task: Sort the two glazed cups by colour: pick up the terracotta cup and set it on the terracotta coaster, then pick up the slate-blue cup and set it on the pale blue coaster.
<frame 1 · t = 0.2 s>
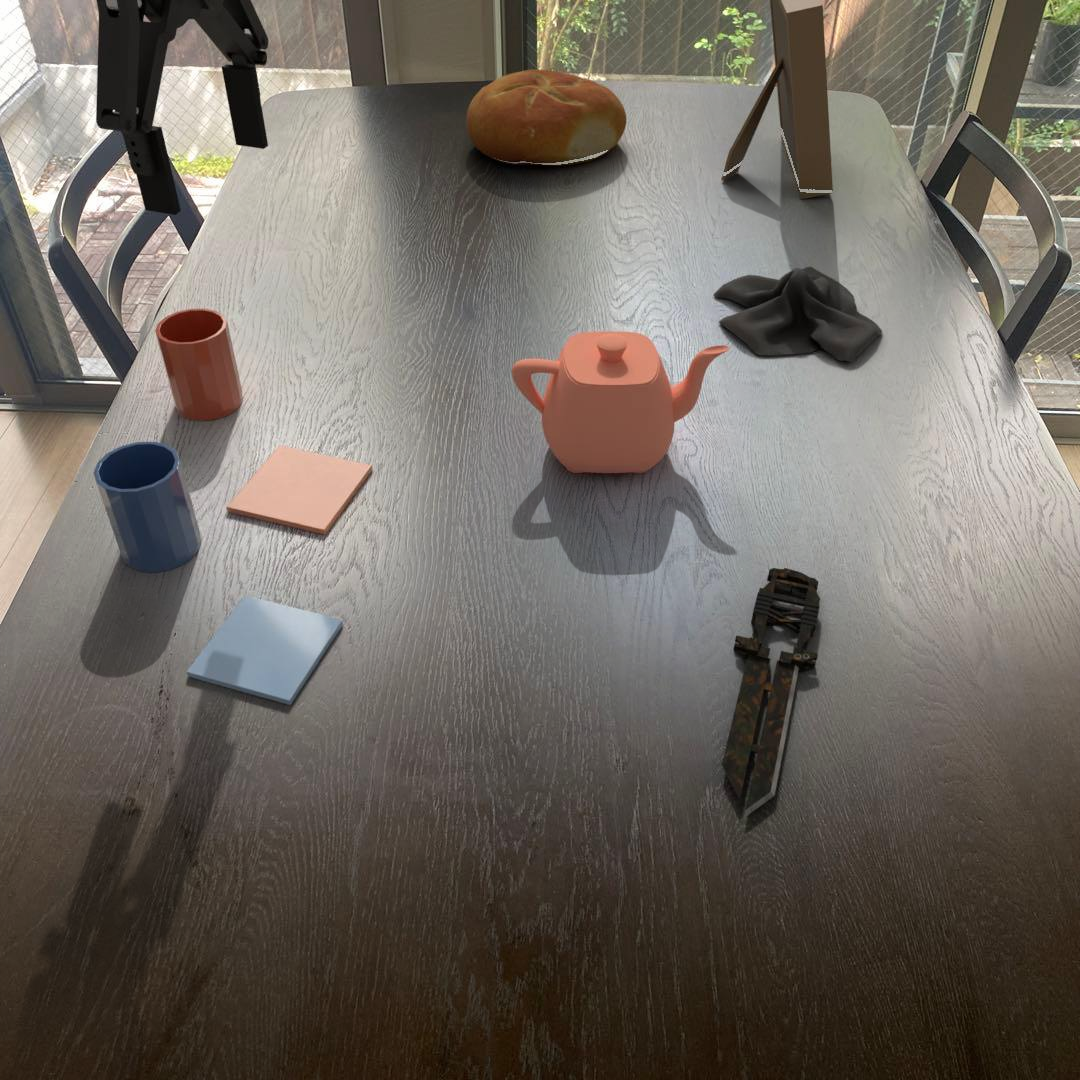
hand: (210, 176, 89), 27 cm above the table, tool pointing down, fingers open, 13 cm apart
bread: (545, 148, 163), on the table
teapot: (614, 448, 107), on the table
blue cup: (161, 546, 96), on the table
red pad: (301, 490, 102), on the table
cloth: (794, 314, 126), on the table
blue pad: (267, 650, 86), on the table
knife: (772, 690, 84), on the table
red cup: (209, 401, 112), on the table
photo frame: (768, 168, 158), on the table
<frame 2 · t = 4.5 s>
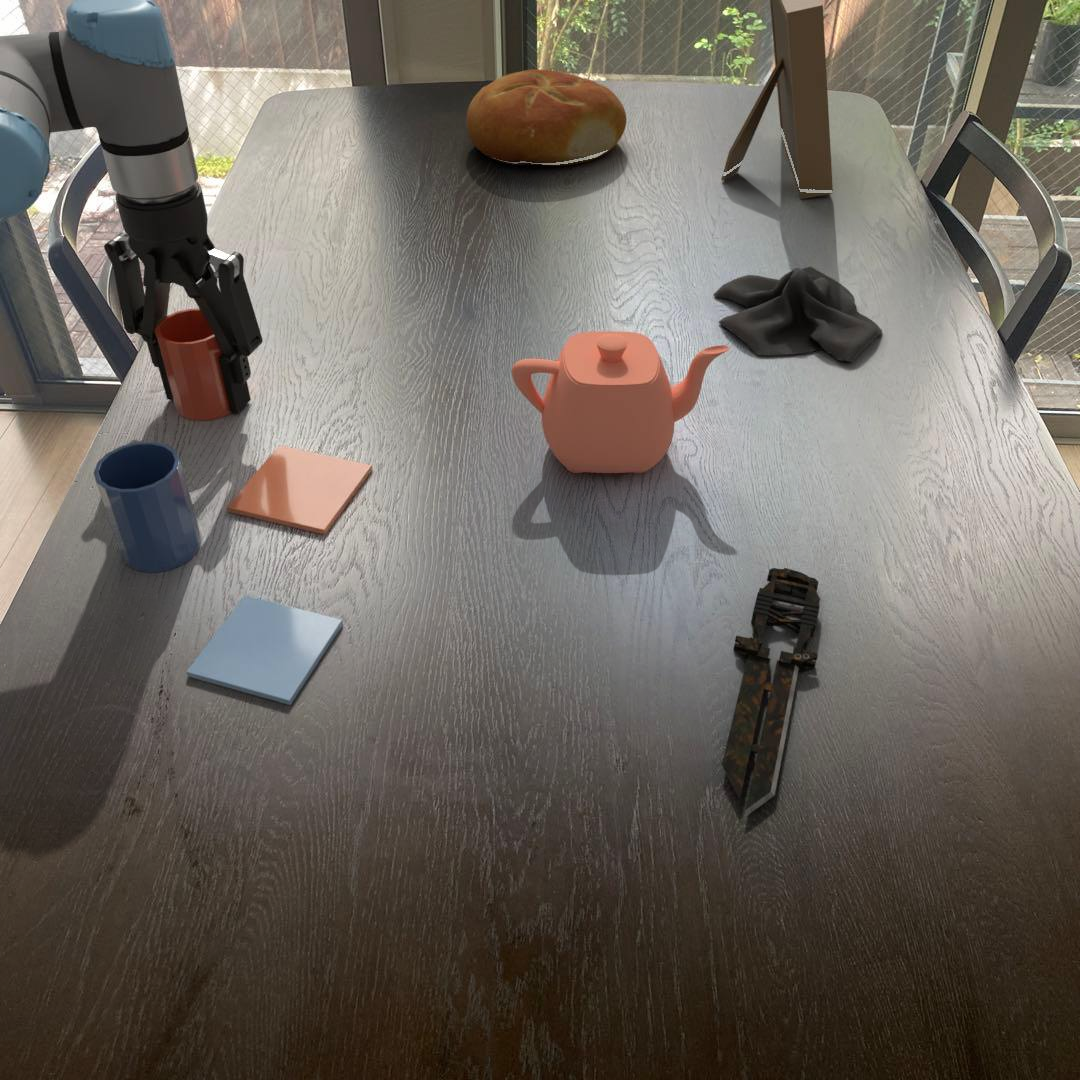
hand: (208, 399, 112), 0 cm above the table, tool pointing down, fingers closed on red cup, 7 cm apart
red cup: (209, 401, 112), on the table, touching gripper
everything else where it was.
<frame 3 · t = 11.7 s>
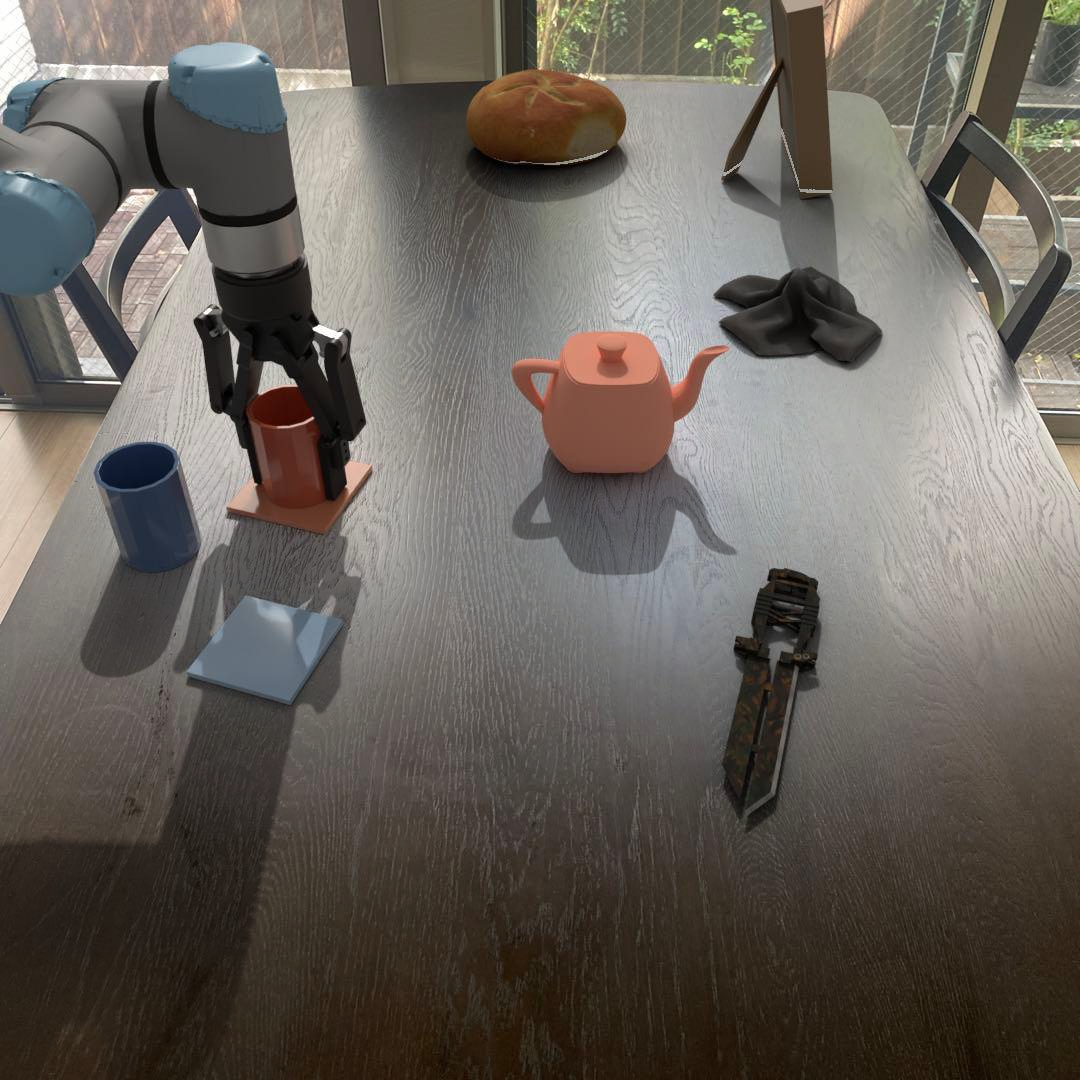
hand: (300, 483, 101), 1 cm above the table, tool pointing down, fingers closed on red cup, 7 cm apart
red cup: (301, 485, 101), point 1 cm above the table, touching gripper
everything else where it was.
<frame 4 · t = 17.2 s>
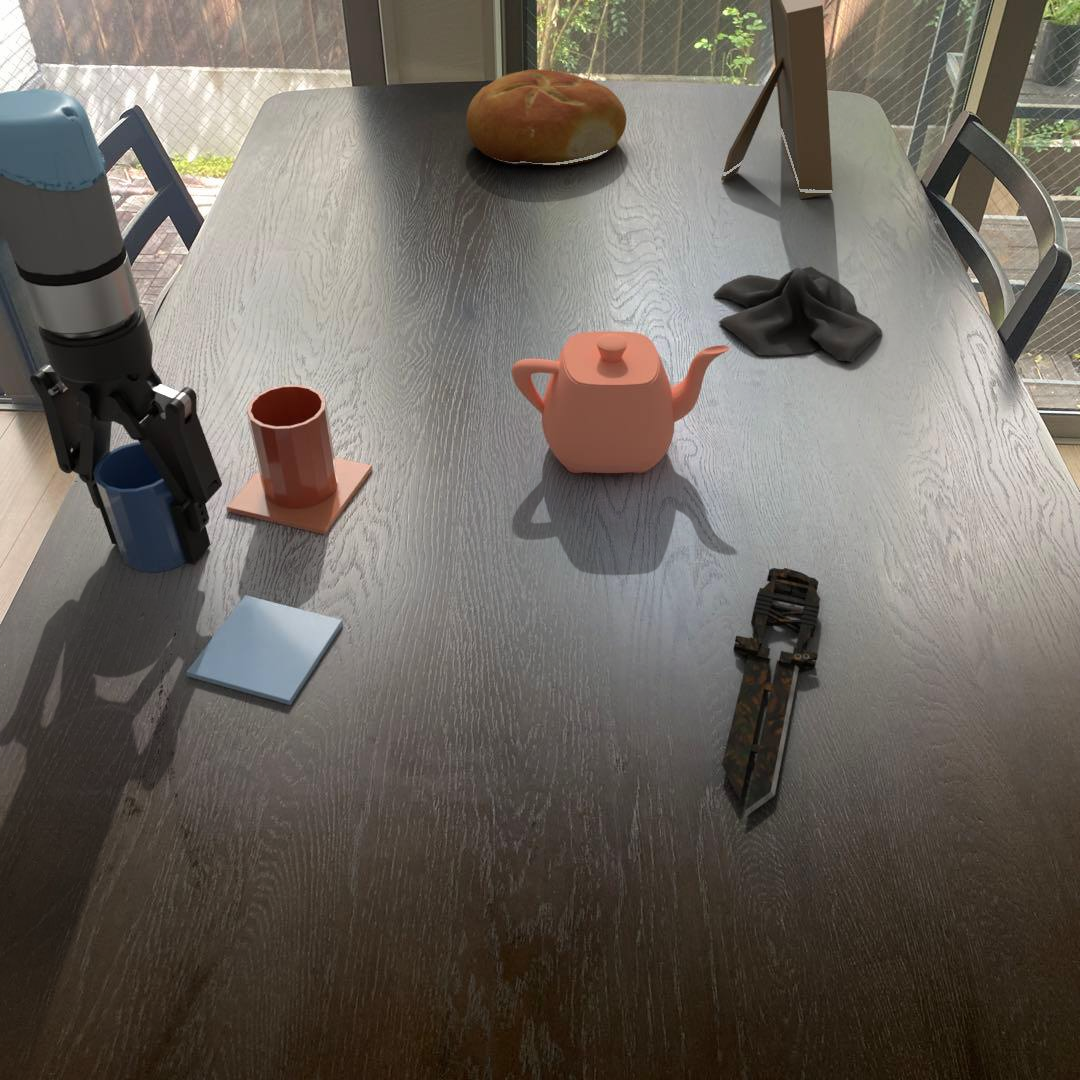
hand: (161, 543, 95), 0 cm above the table, tool pointing down, fingers closed on blue cup, 7 cm apart
blue cup: (161, 546, 96), on the table, touching gripper
red cup: (301, 485, 101), point 1 cm above the table, touching red pad
everything else where it was.
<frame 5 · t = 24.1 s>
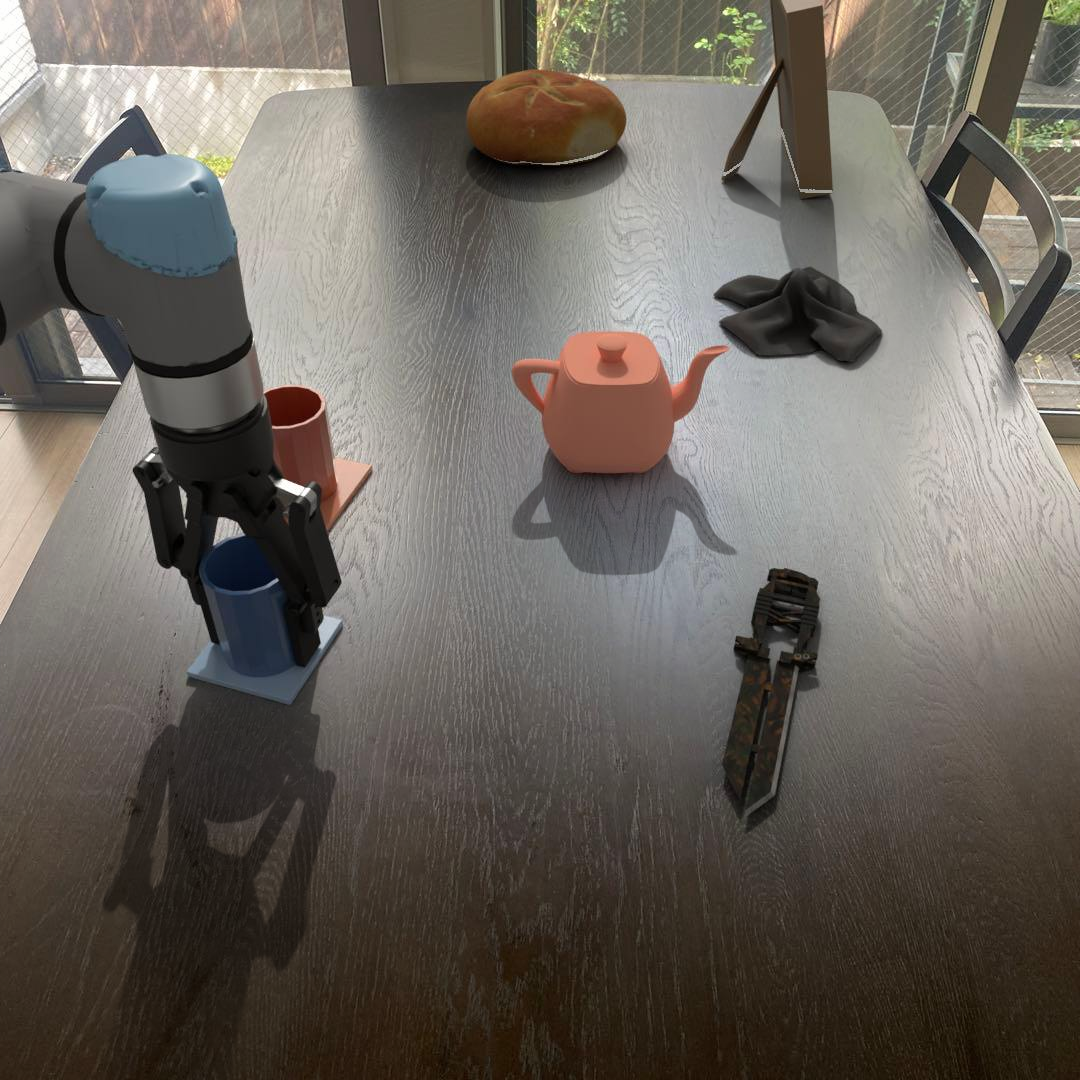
hand: (266, 642, 86), 1 cm above the table, tool pointing down, fingers closed on blue cup, 7 cm apart
blue cup: (266, 645, 86), point 1 cm above the table, touching gripper
everything else where it was.
when the fingers open (2 cm above the table, at t = 30.0 s): blue cup drops 1 cm, resting on blue pad.
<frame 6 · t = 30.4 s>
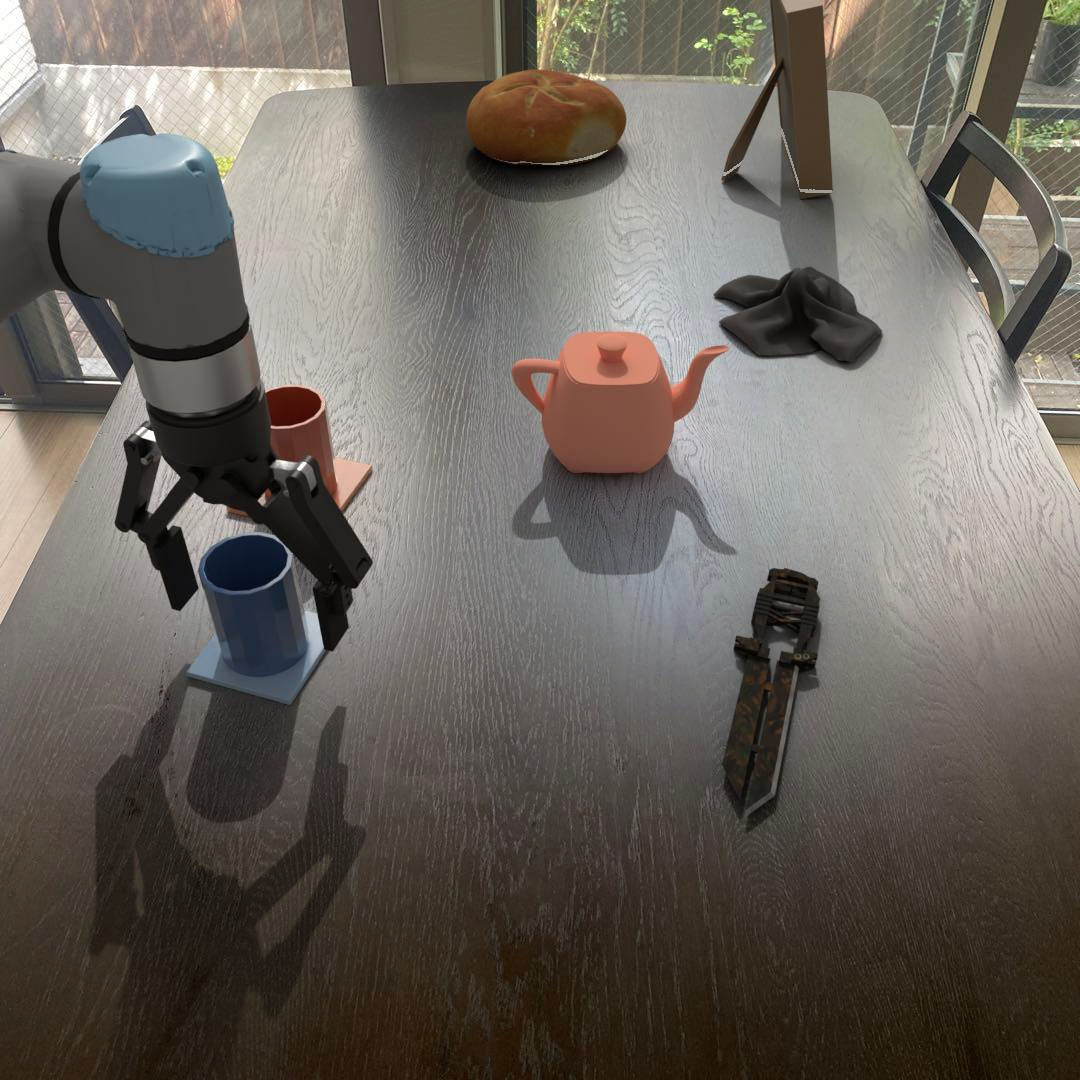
hand: (259, 618, 84), 4 cm above the table, tool pointing down, fingers open, 12 cm apart
blue cup: (265, 645, 86), point 1 cm above the table, touching blue pad
everything else where it was.
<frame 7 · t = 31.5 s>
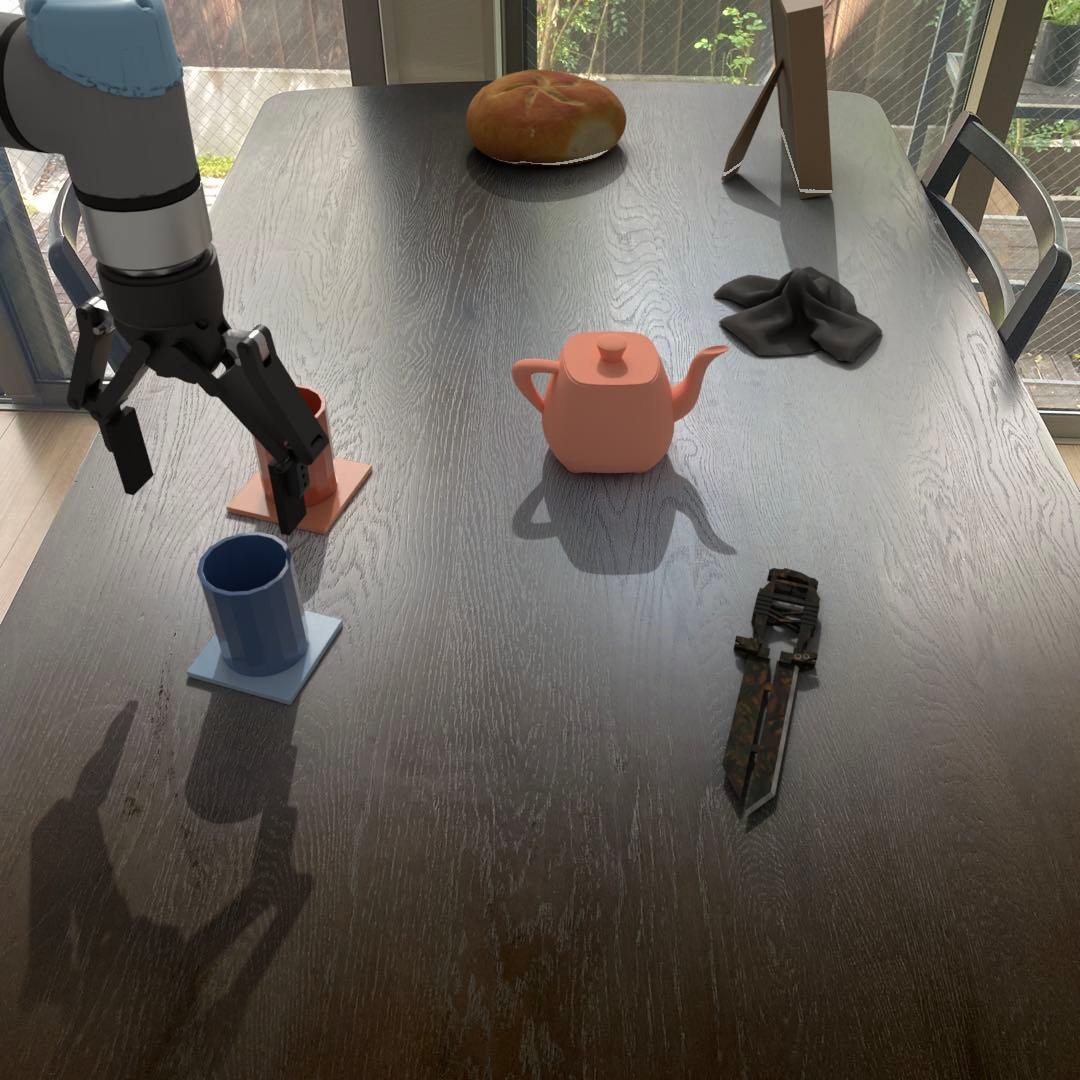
hand: (215, 504, 83), 11 cm above the table, tool pointing down, fingers open, 13 cm apart
nothing on the table moved.
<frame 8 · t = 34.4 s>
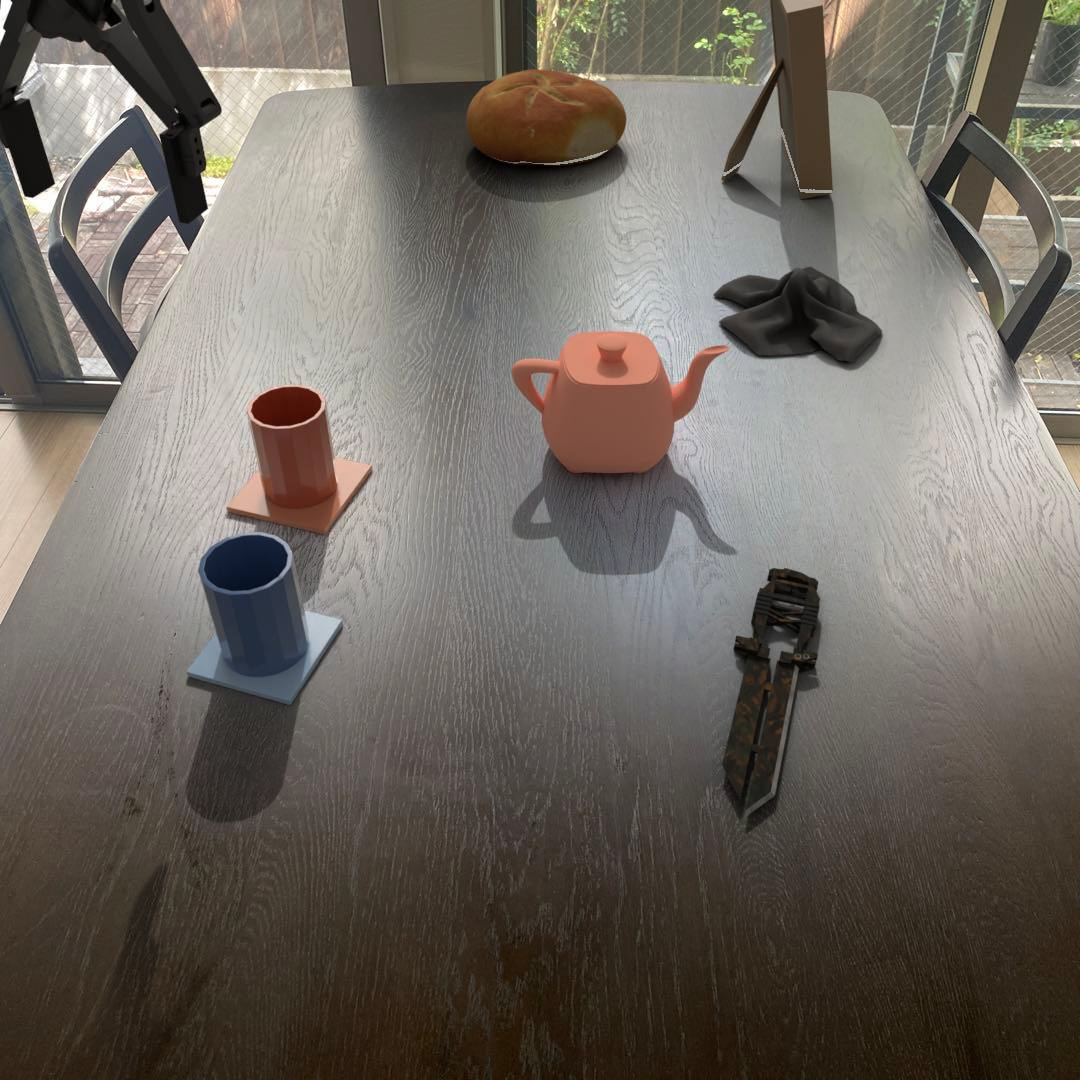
hand: (115, 203, 82), 29 cm above the table, tool pointing down, fingers open, 13 cm apart
nothing on the table moved.
at the end: red cup 0.0 cm off-centre on the red pad, point 0.6 cm above the red pad's base; blue cup 0.0 cm off-centre on the blue pad, point 0.6 cm above the blue pad's base; red cup tilted 0° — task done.
